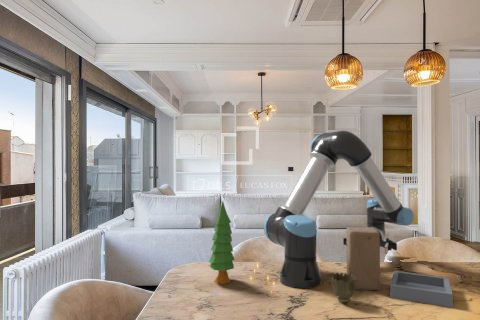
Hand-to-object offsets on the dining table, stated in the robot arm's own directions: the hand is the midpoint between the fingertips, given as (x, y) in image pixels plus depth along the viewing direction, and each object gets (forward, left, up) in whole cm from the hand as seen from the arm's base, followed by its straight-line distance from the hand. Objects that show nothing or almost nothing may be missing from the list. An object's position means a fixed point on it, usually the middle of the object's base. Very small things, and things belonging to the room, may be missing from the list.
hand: (366, 248), depth 128 cm
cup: (-3, -28, -11) cm, 30 cm away
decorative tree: (-47, -29, -11) cm, 56 cm away
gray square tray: (+18, -9, -11) cm, 23 cm away
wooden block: (0, -10, -11) cm, 15 cm away
